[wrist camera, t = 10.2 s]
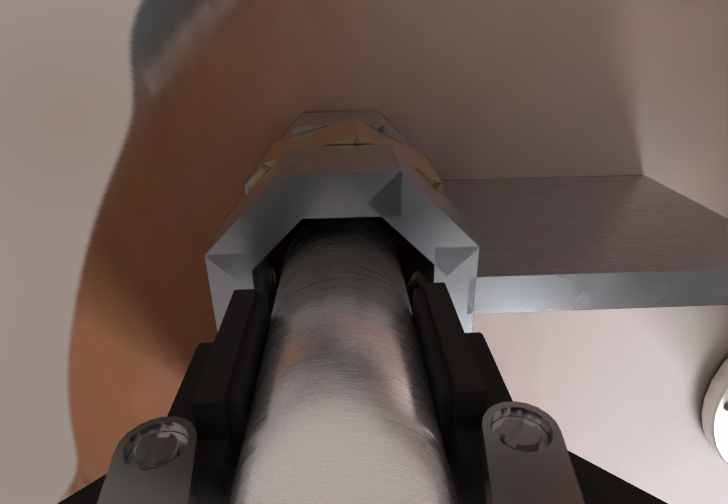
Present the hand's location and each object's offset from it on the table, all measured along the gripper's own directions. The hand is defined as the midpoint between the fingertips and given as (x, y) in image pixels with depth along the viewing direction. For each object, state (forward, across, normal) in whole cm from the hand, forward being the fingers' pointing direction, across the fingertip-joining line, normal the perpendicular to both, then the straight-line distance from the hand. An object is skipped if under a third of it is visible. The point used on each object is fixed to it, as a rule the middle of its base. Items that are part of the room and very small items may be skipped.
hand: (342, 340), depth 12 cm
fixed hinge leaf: (+11, -5, 0) cm, 12 cm away
